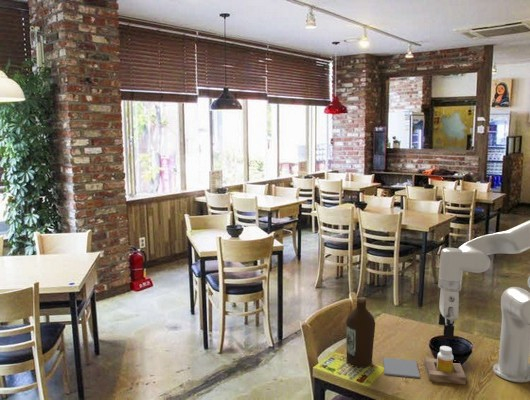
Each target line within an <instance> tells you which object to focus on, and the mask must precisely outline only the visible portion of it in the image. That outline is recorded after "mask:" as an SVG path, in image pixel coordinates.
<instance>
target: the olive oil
mask: <svg viewBox="0 0 530 400" xmlns="http://www.w3.org/2000/svg"><path fill="white" fill-rule="evenodd" d="M375 330H376V321H375V317H374V316H373V314H372V313H371V312H370V311H369V310H368V309H367V297H365V296H357V298H356V307H355V308H354V309H353V310H352V311H350V312H349V313H348V315H347V317H346V319H345V333H346V335H345V337H346V338H345V339H346V362H347V364H348V365H350V366H352V367H355V368H367V367H370V366H372V364H373V363H372V362H373V353H374V351H373V350H374V344H375V343H374V342H375V332H376V331H375Z"/></svg>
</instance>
